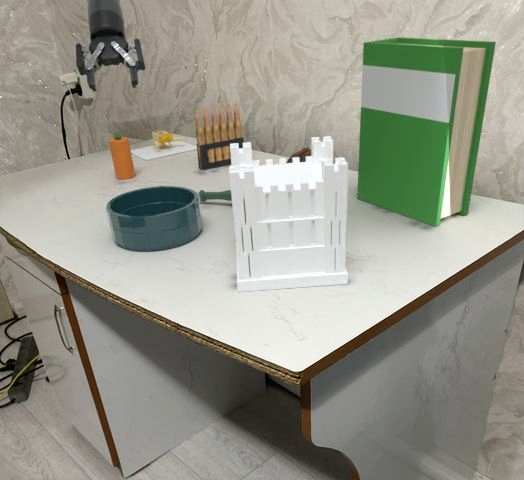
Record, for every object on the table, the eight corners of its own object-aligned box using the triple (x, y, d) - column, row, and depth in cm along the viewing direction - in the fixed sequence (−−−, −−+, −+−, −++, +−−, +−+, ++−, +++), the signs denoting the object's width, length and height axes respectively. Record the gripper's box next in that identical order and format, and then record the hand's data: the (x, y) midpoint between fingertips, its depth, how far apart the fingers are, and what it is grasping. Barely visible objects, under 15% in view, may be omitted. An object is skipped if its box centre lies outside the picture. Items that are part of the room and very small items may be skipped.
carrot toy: (115, 180, 113) (105, 134, 107) (117, 174, 116) (107, 130, 111) (134, 178, 113) (126, 132, 108) (135, 172, 116) (126, 128, 111)
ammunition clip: (242, 159, 120) (238, 101, 113) (246, 161, 119) (241, 102, 112) (198, 168, 116) (191, 108, 109) (201, 170, 115) (194, 110, 108)
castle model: (237, 247, 80) (227, 143, 72) (331, 240, 80) (332, 135, 72) (237, 292, 69) (226, 174, 60) (347, 283, 69) (351, 164, 60)
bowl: (110, 257, 80) (102, 222, 77) (117, 223, 92) (109, 191, 89) (205, 245, 81) (200, 210, 78) (199, 213, 93) (195, 182, 90)
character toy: (155, 137, 126) (142, 132, 131) (158, 151, 128) (144, 146, 133) (186, 131, 129) (171, 126, 135) (188, 145, 131) (173, 140, 137)
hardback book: (467, 214, 85) (495, 41, 72) (435, 226, 82) (458, 48, 68) (387, 189, 98) (398, 37, 84) (357, 198, 94) (363, 42, 81)
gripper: (68, 10, 114) (75, 78, 111) (135, 5, 115) (144, 72, 112) (77, 37, 121) (84, 101, 118) (141, 32, 122) (149, 95, 119)
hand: (113, 87), depth 115 cm, fingers open, 8 cm apart
